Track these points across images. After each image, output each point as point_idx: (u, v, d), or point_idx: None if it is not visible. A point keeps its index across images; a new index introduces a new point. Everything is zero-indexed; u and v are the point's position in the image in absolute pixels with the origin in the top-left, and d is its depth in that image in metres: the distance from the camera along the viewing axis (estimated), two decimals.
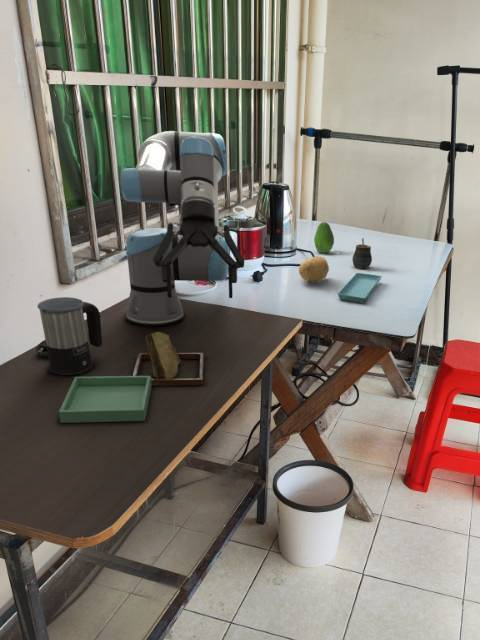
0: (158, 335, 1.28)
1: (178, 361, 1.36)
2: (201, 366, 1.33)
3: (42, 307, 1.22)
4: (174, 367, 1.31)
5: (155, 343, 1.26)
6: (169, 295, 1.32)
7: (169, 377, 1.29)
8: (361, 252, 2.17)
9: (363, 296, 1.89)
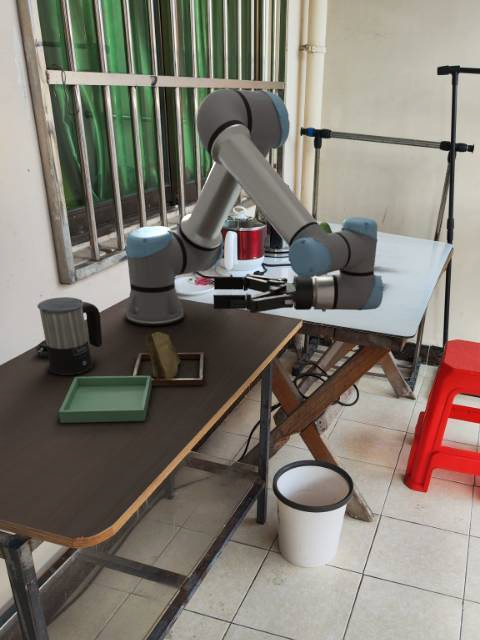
0: (158, 335, 1.28)
1: (178, 361, 1.36)
2: (201, 366, 1.33)
3: (42, 307, 1.22)
4: (174, 367, 1.31)
5: (155, 343, 1.26)
6: None
7: (169, 377, 1.29)
8: None
9: None
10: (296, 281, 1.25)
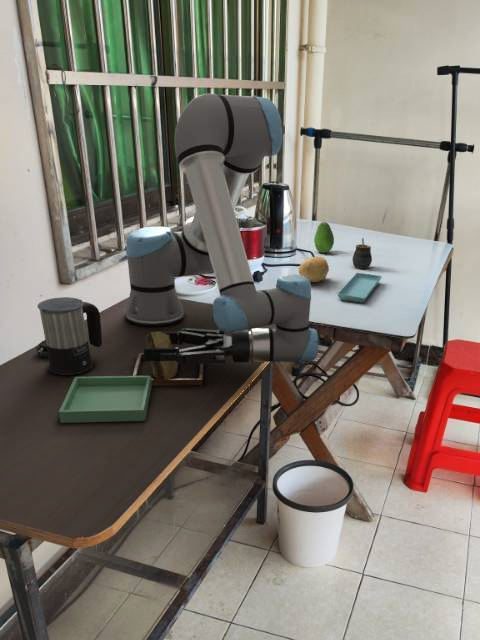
0: (158, 335, 1.28)
1: None
2: (201, 366, 1.33)
3: (42, 307, 1.22)
4: (174, 367, 1.31)
5: (155, 343, 1.27)
6: (144, 355, 1.25)
7: (169, 377, 1.29)
8: (361, 252, 2.17)
9: (363, 296, 1.89)
10: (232, 336, 1.30)
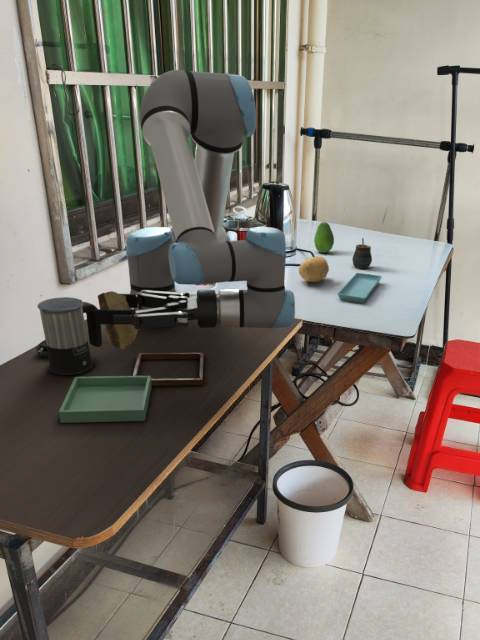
0: (112, 295, 1.12)
1: None
2: (201, 366, 1.33)
3: (42, 307, 1.22)
4: (131, 332, 1.16)
5: (108, 304, 1.11)
6: None
7: (125, 343, 1.14)
8: (361, 252, 2.17)
9: (363, 296, 1.89)
10: (197, 297, 1.14)
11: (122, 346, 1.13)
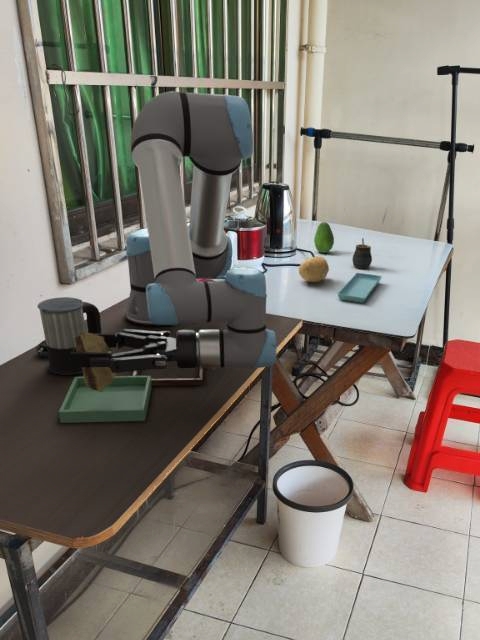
0: (89, 337, 1.10)
1: None
2: None
3: (42, 307, 1.22)
4: (109, 374, 1.14)
5: (85, 346, 1.09)
6: None
7: (102, 385, 1.12)
8: (361, 252, 2.17)
9: (363, 296, 1.89)
10: (176, 338, 1.12)
11: (99, 389, 1.11)
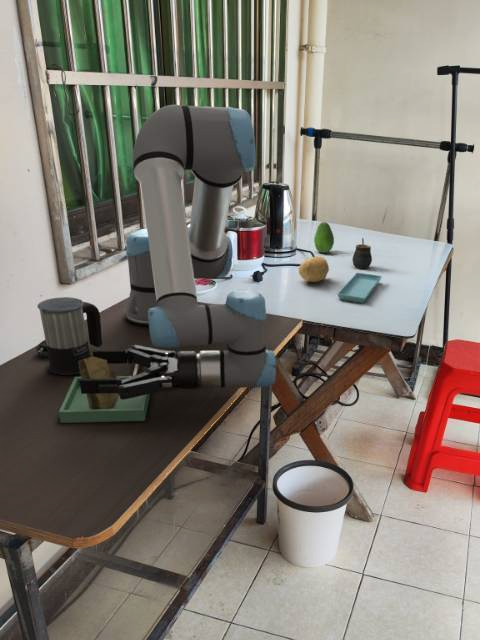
0: (92, 360, 1.13)
1: None
2: None
3: (42, 307, 1.22)
4: (112, 396, 1.16)
5: (88, 370, 1.12)
6: None
7: (105, 408, 1.14)
8: (361, 252, 2.17)
9: (363, 296, 1.89)
10: (178, 360, 1.14)
11: None
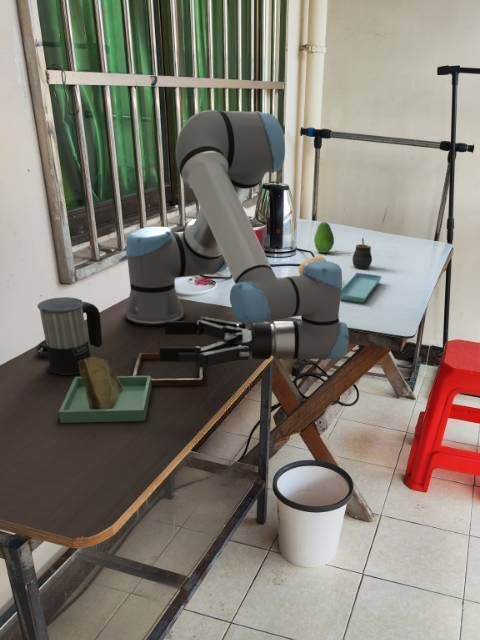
0: (92, 360, 1.13)
1: (120, 388, 1.22)
2: None
3: (42, 307, 1.22)
4: (112, 396, 1.16)
5: (88, 370, 1.12)
6: (160, 355, 1.09)
7: (105, 408, 1.14)
8: (361, 252, 2.17)
9: (363, 296, 1.89)
10: (253, 330, 1.15)
11: None
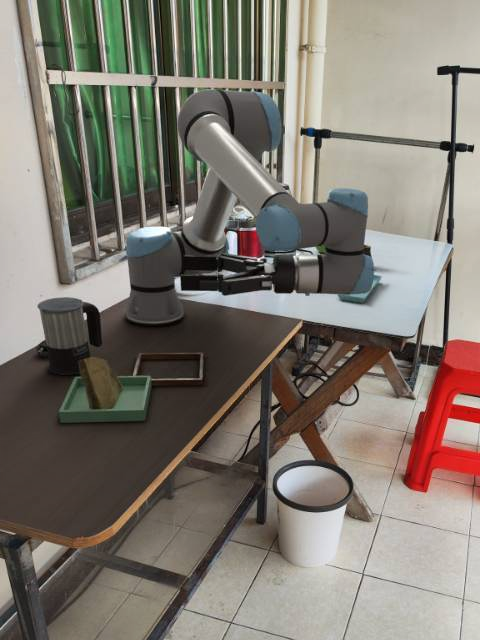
0: (92, 360, 1.13)
1: (120, 388, 1.22)
2: (201, 366, 1.33)
3: (42, 307, 1.22)
4: (112, 396, 1.16)
5: (88, 370, 1.12)
6: None
7: (105, 408, 1.14)
8: None
9: (363, 296, 1.89)
10: (276, 261, 1.11)
11: None
